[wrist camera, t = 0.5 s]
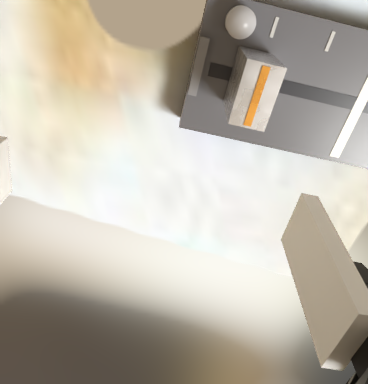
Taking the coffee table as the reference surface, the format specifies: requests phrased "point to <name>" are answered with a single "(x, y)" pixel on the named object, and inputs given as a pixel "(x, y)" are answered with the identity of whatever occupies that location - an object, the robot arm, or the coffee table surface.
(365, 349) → the robot arm
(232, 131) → the console
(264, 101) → the fader
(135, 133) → the coffee table surface
